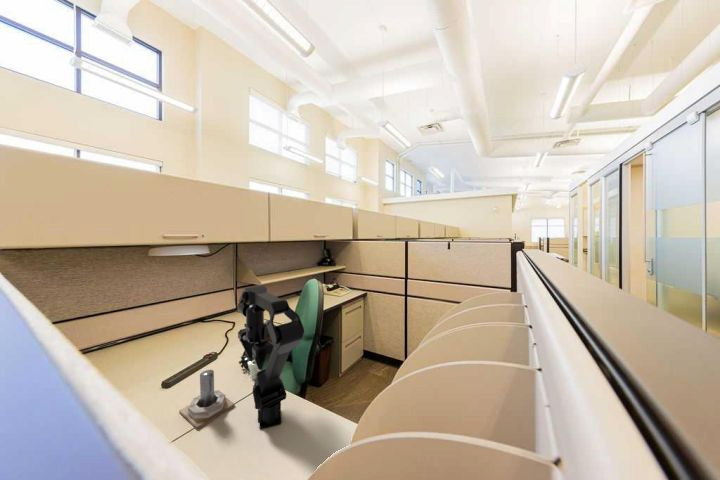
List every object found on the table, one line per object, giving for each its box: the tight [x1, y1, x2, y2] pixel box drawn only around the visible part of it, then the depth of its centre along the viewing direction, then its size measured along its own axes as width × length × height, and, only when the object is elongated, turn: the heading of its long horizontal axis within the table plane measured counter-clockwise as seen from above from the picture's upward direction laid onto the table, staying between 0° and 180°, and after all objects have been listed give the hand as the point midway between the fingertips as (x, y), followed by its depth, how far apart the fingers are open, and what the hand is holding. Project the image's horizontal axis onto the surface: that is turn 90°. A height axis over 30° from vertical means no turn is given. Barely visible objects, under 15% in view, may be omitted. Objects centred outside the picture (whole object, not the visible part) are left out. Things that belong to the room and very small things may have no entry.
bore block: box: [178, 390, 236, 430], centre depth 86 cm, size 12×12×3 cm
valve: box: [238, 352, 262, 381], centre depth 106 cm, size 7×7×12 cm
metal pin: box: [199, 369, 215, 408], centre depth 85 cm, size 4×4×12 cm
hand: (255, 363), depth 91 cm, fingers open, 9 cm apart
